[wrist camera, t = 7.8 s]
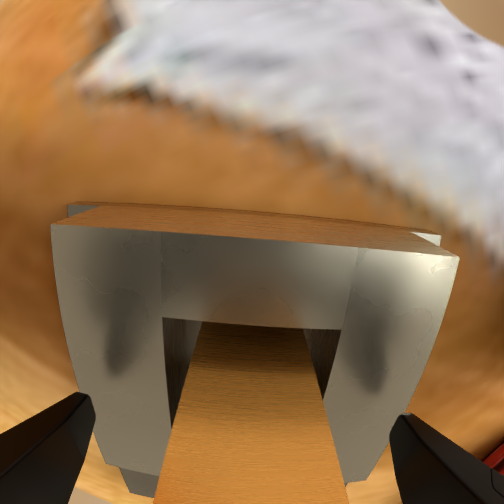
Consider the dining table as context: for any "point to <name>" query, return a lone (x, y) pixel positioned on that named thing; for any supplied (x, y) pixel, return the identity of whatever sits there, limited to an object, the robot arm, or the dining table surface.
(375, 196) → the dining table surface
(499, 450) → the plant pot
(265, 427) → the rectangular wooden peg
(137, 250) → the grey metal frame fixture
